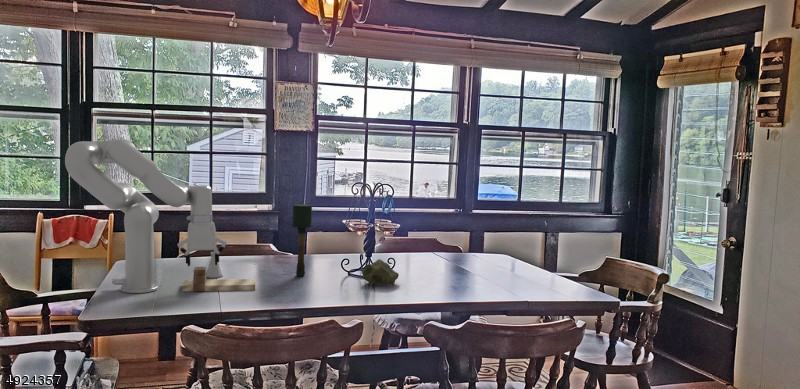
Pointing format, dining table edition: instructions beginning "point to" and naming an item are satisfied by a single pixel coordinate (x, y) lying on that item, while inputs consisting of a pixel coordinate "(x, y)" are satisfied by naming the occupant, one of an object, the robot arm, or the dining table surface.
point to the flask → (213, 268)
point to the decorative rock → (379, 273)
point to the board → (222, 285)
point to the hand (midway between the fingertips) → (202, 264)
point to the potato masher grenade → (301, 231)
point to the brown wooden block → (199, 279)
